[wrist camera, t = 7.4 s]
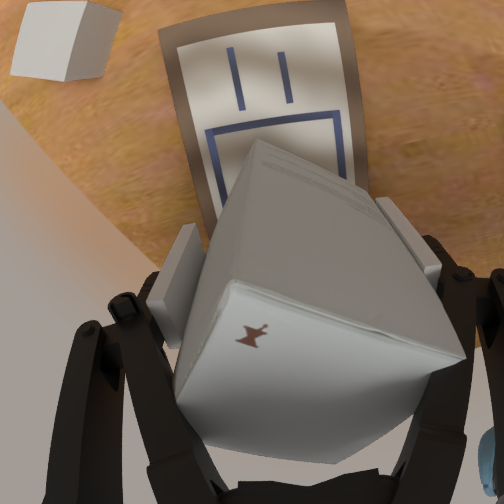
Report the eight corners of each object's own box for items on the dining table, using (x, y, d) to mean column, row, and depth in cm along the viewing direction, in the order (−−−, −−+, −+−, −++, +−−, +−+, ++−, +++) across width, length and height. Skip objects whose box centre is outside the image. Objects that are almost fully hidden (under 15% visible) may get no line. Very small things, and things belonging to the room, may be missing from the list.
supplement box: (206, 243, 20) (149, 433, 9) (255, 134, 16) (228, 274, 5) (310, 285, 21) (334, 469, 10) (371, 191, 17) (482, 364, 6)
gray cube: (69, 9, 17) (28, 2, 12) (123, 12, 18) (87, 0, 13) (52, 69, 20) (9, 75, 15) (103, 77, 21) (63, 81, 16)
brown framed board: (366, 265, 29) (369, 273, 28) (225, 284, 31) (223, 292, 30) (341, 2, 17) (345, -2, 16) (161, 31, 19) (156, 29, 18)
